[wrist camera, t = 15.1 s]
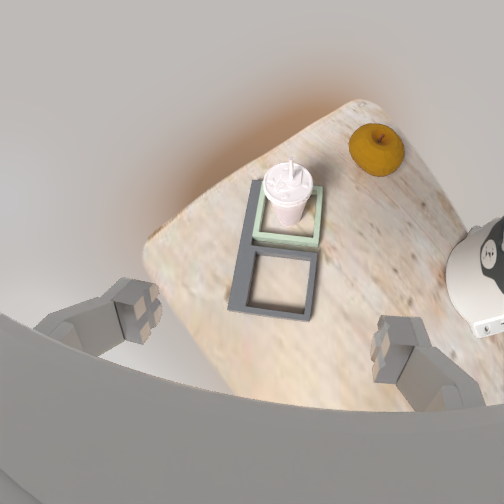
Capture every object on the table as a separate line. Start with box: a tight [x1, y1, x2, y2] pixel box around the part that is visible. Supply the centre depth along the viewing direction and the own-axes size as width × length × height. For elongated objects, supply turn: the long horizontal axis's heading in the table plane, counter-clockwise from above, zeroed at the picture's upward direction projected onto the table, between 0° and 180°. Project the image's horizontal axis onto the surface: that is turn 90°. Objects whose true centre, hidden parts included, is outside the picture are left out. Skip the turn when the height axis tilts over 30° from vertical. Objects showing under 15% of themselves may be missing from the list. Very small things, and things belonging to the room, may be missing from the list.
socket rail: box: [228, 180, 323, 322], centre depth 44 cm, size 11×21×2 cm, turn 170°
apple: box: [349, 123, 404, 177], centre depth 43 cm, size 9×9×9 cm
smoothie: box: [263, 157, 313, 226], centre depth 39 cm, size 6×6×14 cm
